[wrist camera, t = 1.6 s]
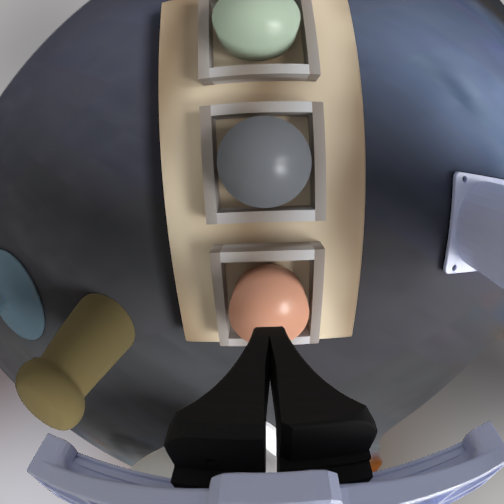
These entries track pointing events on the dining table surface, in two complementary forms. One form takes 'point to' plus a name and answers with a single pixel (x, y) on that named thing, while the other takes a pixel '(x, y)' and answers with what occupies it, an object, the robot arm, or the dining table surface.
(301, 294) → the terracotta button
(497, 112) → the dining table surface
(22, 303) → the cocktail glass
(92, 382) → the cork
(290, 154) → the charcoal button
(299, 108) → the button board
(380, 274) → the dining table surface
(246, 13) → the sage button
